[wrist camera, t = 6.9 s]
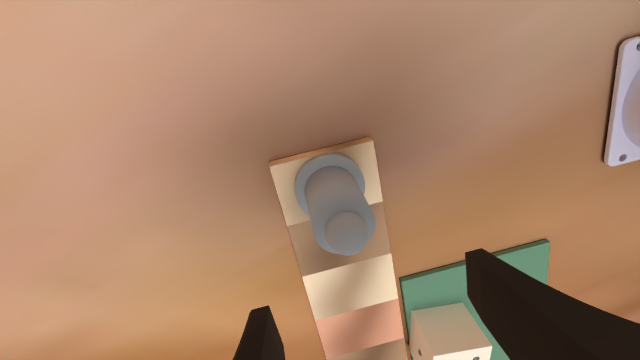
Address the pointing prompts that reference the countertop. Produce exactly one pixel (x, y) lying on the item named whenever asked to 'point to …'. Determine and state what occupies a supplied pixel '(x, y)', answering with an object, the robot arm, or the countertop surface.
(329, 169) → the pawn
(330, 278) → the track
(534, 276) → the dice mat
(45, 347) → the countertop surface
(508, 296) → the robot arm
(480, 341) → the die
